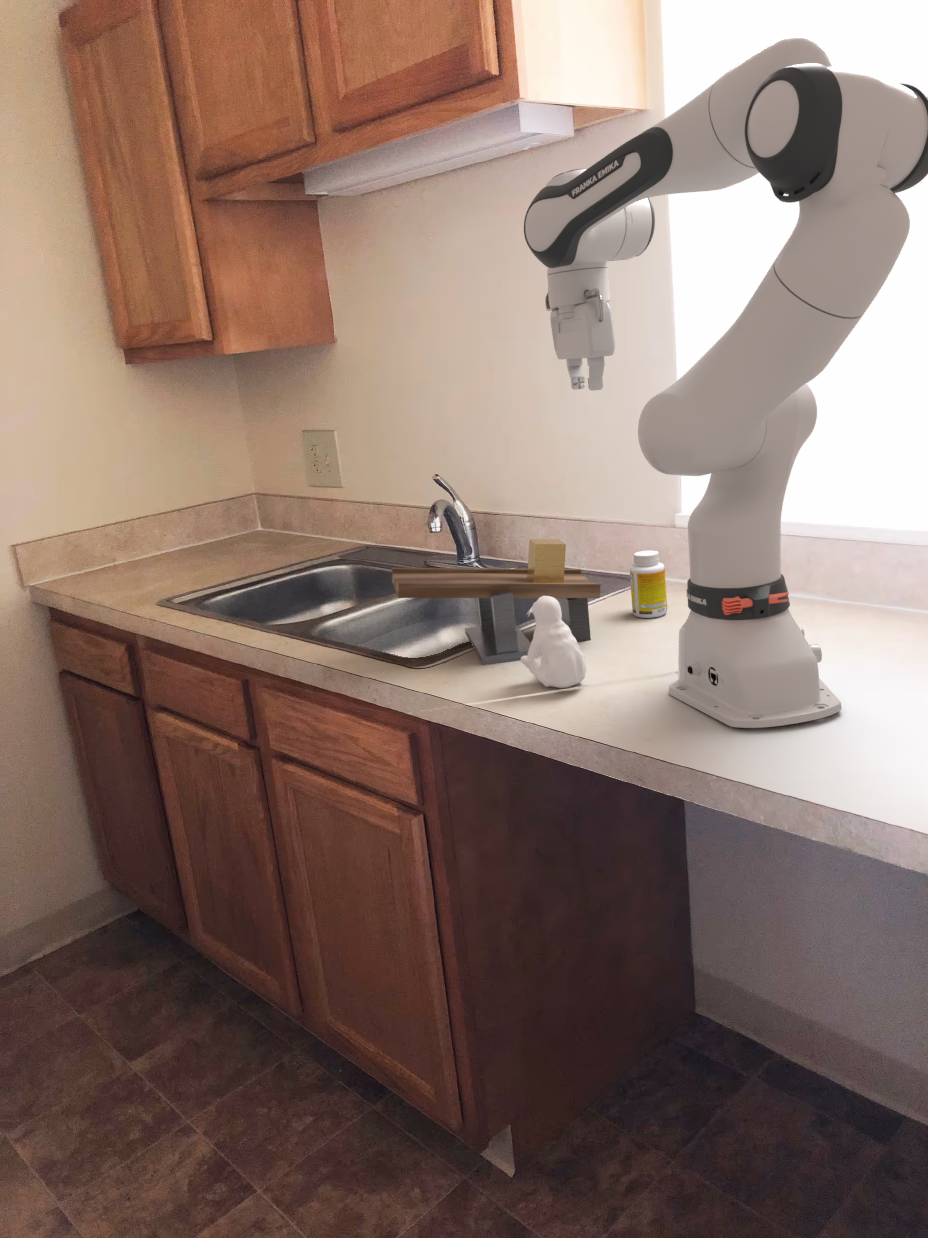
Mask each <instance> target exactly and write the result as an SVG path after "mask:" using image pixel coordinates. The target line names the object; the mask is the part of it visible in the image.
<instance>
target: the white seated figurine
mask: <svg viewBox="0 0 928 1238" xmlns="http://www.w3.org/2000/svg"><path fill="white" fill-rule="evenodd" d="M531 614H532V615H533V617H534V619H535V629H534V631H533V637H532V639H531V641H530V643H531V644H530V647H529V651H528V655H527V656H522V657H521V660H520V662H521V664H523V665H524V666H525V667H526V668H527V669H528V670H529V673H531V674H532V675H533V677H534V678H536V680H537V681H538V682H540V683H541V684H542V685H543V686H544V687H547V688H548V687H553V688H558V689H565V688H569V687H570V688H571V687H573V686H574V685H577V684H580V683H581V682H582V681H583V680H584V679H585V678H586V671H587V667H586V661H585V660H586V659H585V655H584V653H583V652H582V649H581V647H580V645H579V643H578V642H577V640H576V639H575V637H574V636H573V635H572V633H571V630H570V628H569V627H568V626H567V625H566V624H565V623H564V622H563V621H562V620H561V619H562V613H561V607H560V604H559V602H558V601H557V600H556V598H553V597H550V596H542V597H540V598H537V600H536V601H535V602H533V604H532V606H531V607H530V609H529V610H528V611H527V612H526V615H528V616H527V618H529V617H530V615H531ZM538 655H540V656H541V659H540V661H538V660H537V659H536V658H537V657H538Z"/></svg>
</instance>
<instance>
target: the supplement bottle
mask: <svg viewBox="0 0 928 1238" xmlns="http://www.w3.org/2000/svg"><path fill="white" fill-rule="evenodd" d="M629 579H630V594H631V596H630V597H631V607H632V614H633V615H634V616H635V617H637V618H641V619H655V618H659V617H662V616H665V615H666V614H667V611H668V599H667V585H666V584H667V581H666V568H665V564H664V563H663V562H660V553H659V551H657V550H649V549H648V550H641V551H636V552H634V554H633V564H632V565H631V566H630V567H629Z"/></svg>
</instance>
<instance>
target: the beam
mask: <svg viewBox="0 0 928 1238" xmlns="http://www.w3.org/2000/svg"><path fill="white" fill-rule="evenodd" d="M527 574H528V568H503V567H502V568H491V567H490V568H488V567H487V568H486V567H484V568H483V567H482V568H481V567H480V568H479V567H478V568H477V567H475V568H474V567H473V568H468V567H462V568H461V567H460V568H459V567H457V568H456V567H450V568H449V567H392V568H391V582H392V585H393V588H394V590H395V592H396V596H397V597H398V599H477V598H491V593H498V592H505V591H511V592H512V593H513V599H539V598H540V597H542V596H550V597H553V598H555V599H556V598H587V599H600V597H601V583H599V582H593V581H592V580H590V579H588V578H587V577H586V576H584V574H582V570H581V569H580V568H564V583H533V582H532V581H531V580H530V579H529V578H528V577H527Z"/></svg>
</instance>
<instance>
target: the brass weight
mask: <svg viewBox="0 0 928 1238" xmlns="http://www.w3.org/2000/svg"><path fill="white" fill-rule="evenodd" d="M566 545H567V544H566V543H565V542H564V541H561V540H560V539H559V538H558V539H557V538H555V539H554V538H529V541H528V557H527V558H528V561H527V569H528V574H527V577H528V578H529V579H530V580H531V581H532V582H533V583H564V569H565V567H566V566H565V564H566V550H567V549H566V548H567V547H566Z"/></svg>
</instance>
